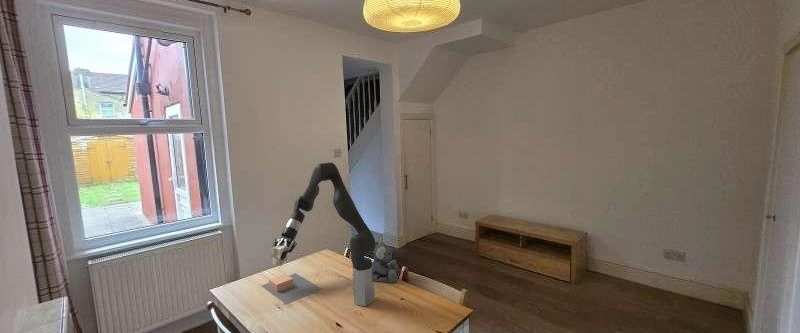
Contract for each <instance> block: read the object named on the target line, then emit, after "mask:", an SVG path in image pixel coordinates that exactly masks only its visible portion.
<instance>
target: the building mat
mask: <svg viewBox="0 0 800 333" xmlns="http://www.w3.org/2000/svg"><path fill="white" fill-rule="evenodd" d="M288 276H290V277H291V278H293V285H294V286H292V287H289V288H287V289H284V290H282V291H279V292H276V291H275V290H273V289H272V288H270V287H269V282H266V283H265V284H261V285H260V286H261V287H262V288H263V289H264V290H266V291H267V292H269V293H270V294H271V295H272V296H274V297H275V298H277V299H278V300H280V301H281V302H282V303H283V304H284V305H288V304H291V303H293V302H296V301H298V300H301V299H303V298H306V297H307V296H310V295H312V294H314V293H317V292H319V291H321V290H323V288H322V287H321V286H318V285H317V284H315V283H313V282H312V281H310V280H308V279H306V278H304V277H303V276H301V275H299V274H297V273H292V274H289V275H288Z"/></svg>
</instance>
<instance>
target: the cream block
mask: <svg viewBox="0 0 800 333" xmlns="http://www.w3.org/2000/svg"><path fill="white" fill-rule="evenodd" d="M284 249H285V247H284V246H283V245H279V246H275V247H273V248H272V247H271V253H272V254H271V258H272V265H273V266H277V267H282V266H283V265H286V264H287V263H288V253H287V254H286V257H285V258H284V259H283V260H281V259H280V257H281V255H282V253H283V252H284Z"/></svg>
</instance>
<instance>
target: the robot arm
mask: <svg viewBox="0 0 800 333" xmlns="http://www.w3.org/2000/svg"><path fill="white" fill-rule="evenodd" d="M326 181H327V182H328V181H331V183H332V185H333V190H334V191H333V199H332V200H333V201H332V202H333V203H332V204H333V205H334V206H333V207H334V208H335V210H336V213H337V215H339V217H340V218H341V219H343V220H344V221H345V222H346V223H348V224H349V225H351V226H352V228H354V229H355V231H356V233H357V234H355V235H352V236H351V238H350V240H349V250H350V259H351V264H352V281H353V284H352V285H353V286H352V287H353V303H354V305H356V306H363V307H367V306H369V305H370V304H372V303H374V302H375V282H373V279H372V262H373V260H372V259H371V258H369V257H365V253H368V252H370V251H374V250H375V248H376V239H375V237H374V234H373V233H372V231H371V230H370V228H369V227H368V225H367V224H366V222H365V221H364V219H363V217H362V216H361V214H360V212H359V210H358V209H357V207H356V204H355V202H354V200H353V198H352V196H351V195H350V193H349V191H348V189H347V188H346V185H345V183H344V182H343V179H342V176H341V174H340V172H339V169H338V167H337V165H336V164H335V163H334V162H324V163H318V164H316V165H315V167H314V168H313V170H312V174H311V176H310V180H309V181H308V182H309V183H308V185H307V187H306V189H305V190H304V192H303V193H302V195H299V196H297V197H296V199H295V201H294V206H293V211H292V214H291V215H290V218H289V219H288V221H287V222H286V224H285V225H284V228H283V230H282V232H281V236H280V237H279V238H276V237H275V238H274V239H273V243H272V246H271V249H272V248H273V247H275V246H279V245H283V246H284V247H285V249H284V252H283V253H282V255H281V257H280V259H281V260H283V259H284V258H285V257H286V254H287V255H288V253H290V254H291V253H292V252H293V250H294V249H295V248H296V246H297V245H298V242H297V241H295V239H296V237H297V235H298V233H299V231H300V229H301V226H302V223H303V222H304V220H305V218H306V216H305V213H303V212H306V213H307V212H308V213H309V212H311V211H312V210H313V208H314V205H315V200H316V198H317V196H319V192H320V187H319V184H320V183H321V182H326ZM302 211H303V212H302Z"/></svg>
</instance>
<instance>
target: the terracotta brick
mask: <svg viewBox="0 0 800 333" xmlns="http://www.w3.org/2000/svg"><path fill="white" fill-rule="evenodd" d="M268 283H269V287H270V288H272V289H273V290H275V291H276V292H279V291H282V290H284V289H287V288H289V287H292V286H294V285H293V278H291V277H290V276H289V275H288V274H286V273H283V274H279V275H278V276H275V277H272V278H271V277H270V278H269V279H268Z"/></svg>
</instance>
